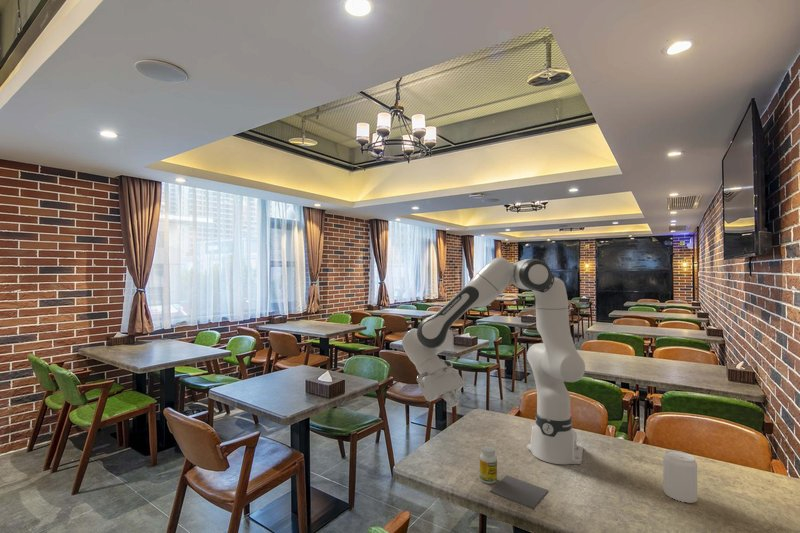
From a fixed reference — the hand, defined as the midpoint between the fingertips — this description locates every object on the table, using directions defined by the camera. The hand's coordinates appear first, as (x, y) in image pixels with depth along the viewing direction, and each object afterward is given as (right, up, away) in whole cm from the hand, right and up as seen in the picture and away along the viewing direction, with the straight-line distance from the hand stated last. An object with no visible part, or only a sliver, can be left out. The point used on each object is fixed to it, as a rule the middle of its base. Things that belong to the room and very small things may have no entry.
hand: (456, 405), depth 129 cm
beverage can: (+64, -22, -15) cm, 69 cm away
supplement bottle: (+9, -21, -8) cm, 24 cm away
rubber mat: (+17, -20, -14) cm, 30 cm away
